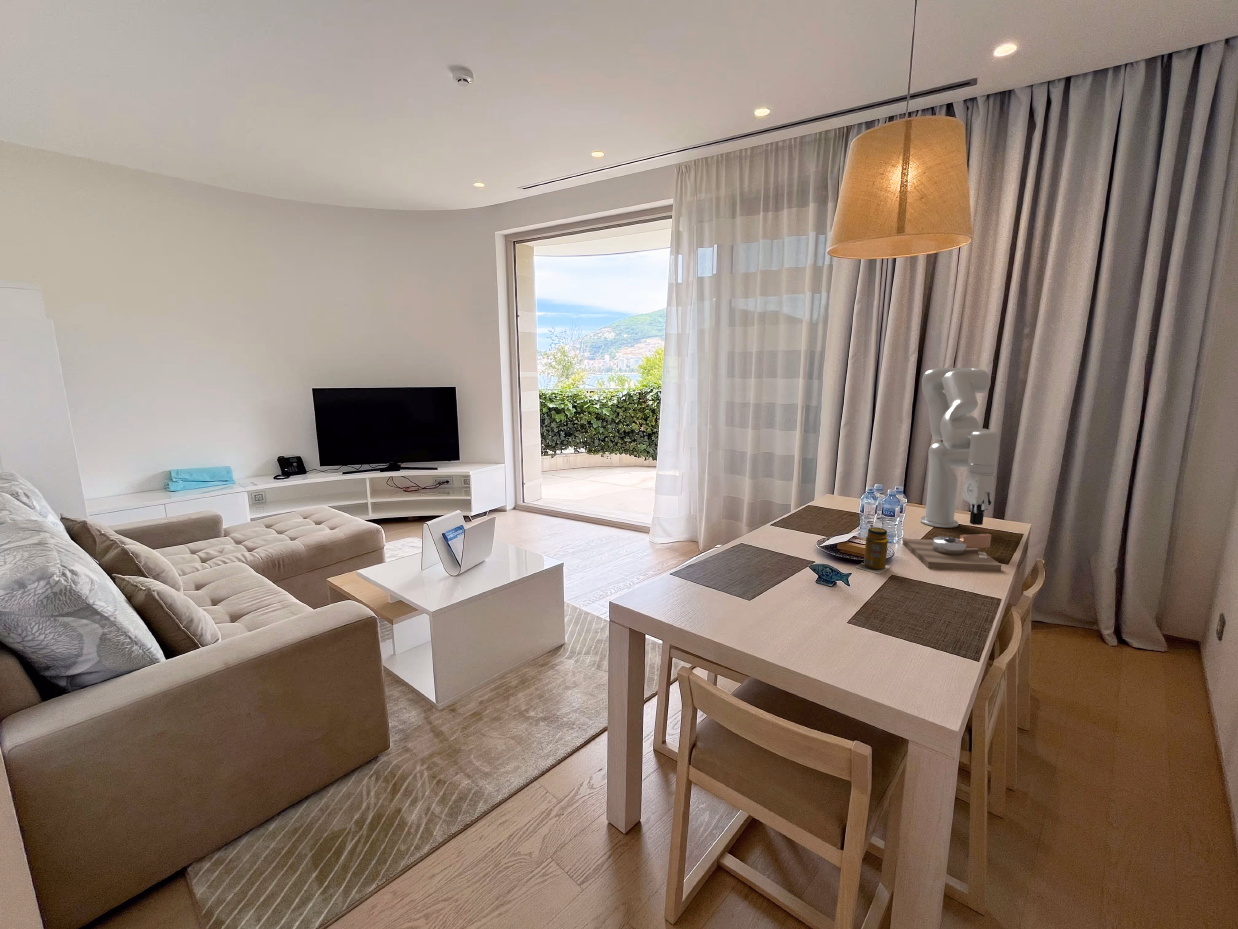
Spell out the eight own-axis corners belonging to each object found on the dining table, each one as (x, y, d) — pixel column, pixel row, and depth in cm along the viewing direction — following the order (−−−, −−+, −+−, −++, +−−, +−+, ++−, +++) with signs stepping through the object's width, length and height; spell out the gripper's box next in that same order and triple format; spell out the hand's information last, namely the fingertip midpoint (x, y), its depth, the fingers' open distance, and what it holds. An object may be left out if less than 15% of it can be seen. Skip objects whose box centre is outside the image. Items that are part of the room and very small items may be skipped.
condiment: (890, 566, 163) (893, 529, 161) (879, 574, 158) (882, 535, 155) (866, 560, 168) (869, 524, 166) (855, 568, 163) (857, 530, 160)
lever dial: (945, 555, 165) (946, 541, 164) (926, 546, 174) (927, 532, 173) (1000, 552, 167) (1001, 538, 166) (978, 543, 176) (979, 530, 175)
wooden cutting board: (902, 544, 183) (903, 538, 182) (966, 546, 179) (967, 540, 179) (928, 568, 161) (928, 561, 161) (1001, 571, 158) (1002, 564, 158)
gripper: (958, 465, 180) (953, 518, 183) (980, 472, 165) (974, 530, 168) (982, 465, 179) (977, 518, 181) (1006, 473, 164) (1000, 530, 167)
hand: (976, 524), depth 175 cm, fingers closed
